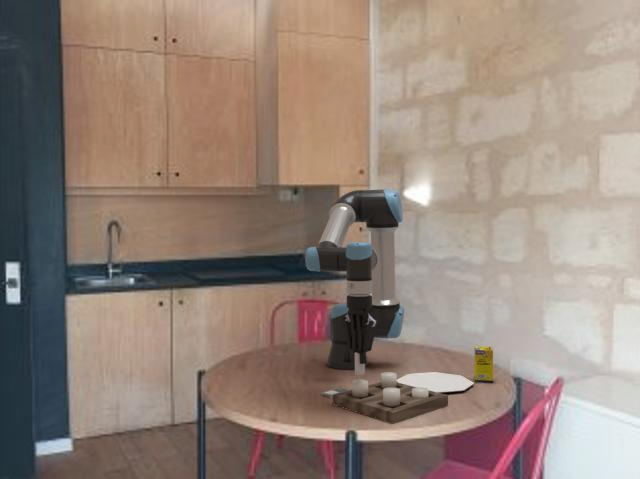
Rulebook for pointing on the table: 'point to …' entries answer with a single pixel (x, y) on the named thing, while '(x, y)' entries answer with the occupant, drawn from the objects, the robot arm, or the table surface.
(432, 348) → the table surface
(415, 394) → the button
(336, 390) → the card
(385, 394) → the button
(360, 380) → the button
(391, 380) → the button
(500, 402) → the table surface
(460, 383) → the plate
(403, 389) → the board
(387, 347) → the table surface
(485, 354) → the supplement box
